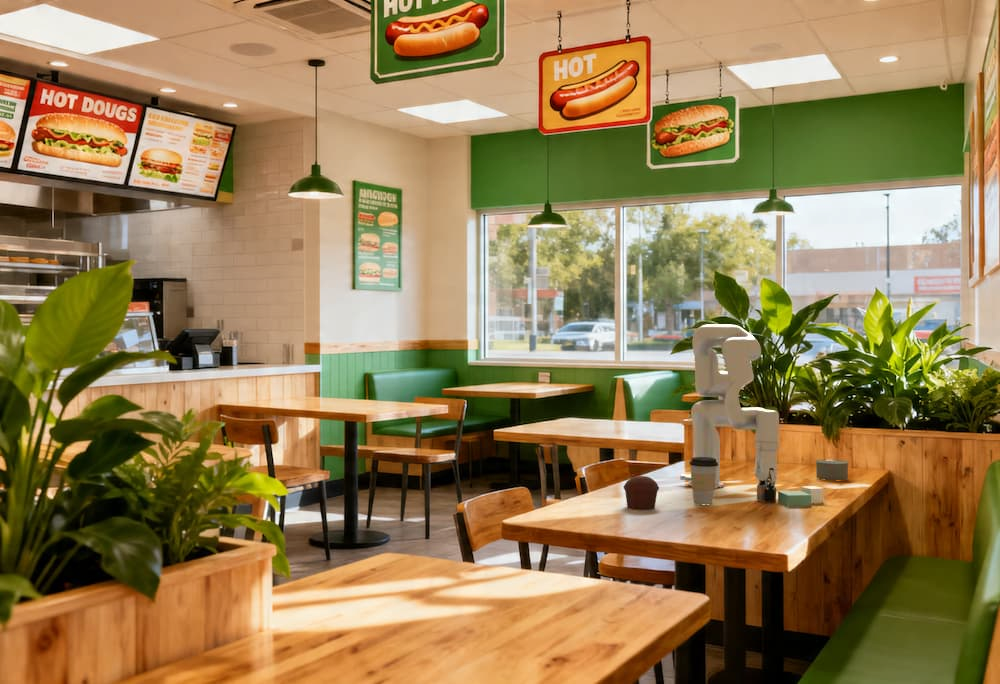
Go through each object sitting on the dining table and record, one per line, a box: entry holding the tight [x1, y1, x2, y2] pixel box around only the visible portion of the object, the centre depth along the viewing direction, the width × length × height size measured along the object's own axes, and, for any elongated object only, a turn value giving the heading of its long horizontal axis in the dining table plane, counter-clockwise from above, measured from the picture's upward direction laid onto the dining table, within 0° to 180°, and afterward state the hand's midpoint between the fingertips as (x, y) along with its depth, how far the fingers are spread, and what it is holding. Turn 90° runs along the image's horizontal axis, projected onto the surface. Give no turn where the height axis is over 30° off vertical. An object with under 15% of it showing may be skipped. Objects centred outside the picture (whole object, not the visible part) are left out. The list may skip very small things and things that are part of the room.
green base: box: [777, 490, 812, 508], centre depth 312 cm, size 8×8×4 cm
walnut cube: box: [756, 484, 777, 503], centre depth 318 cm, size 5×5×5 cm
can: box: [815, 458, 849, 481], centre depth 367 cm, size 12×12×7 cm
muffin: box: [623, 475, 660, 511], centre depth 304 cm, size 12×11×10 cm
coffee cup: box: [689, 456, 718, 505], centre depth 311 cm, size 9×9×15 cm
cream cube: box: [801, 485, 824, 504], centre depth 316 cm, size 5×5×5 cm
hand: (766, 499), depth 318 cm, fingers open, 5 cm apart
